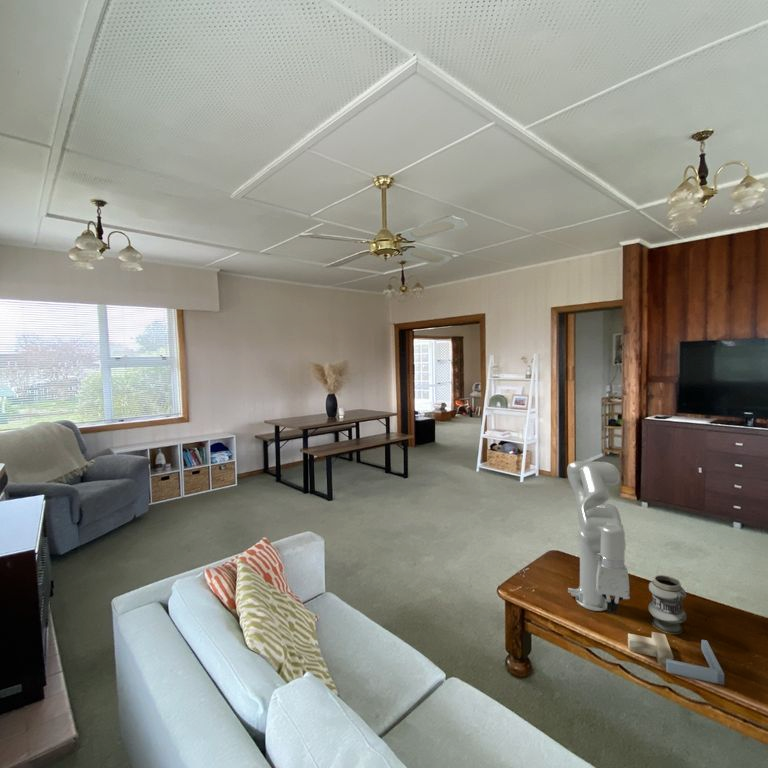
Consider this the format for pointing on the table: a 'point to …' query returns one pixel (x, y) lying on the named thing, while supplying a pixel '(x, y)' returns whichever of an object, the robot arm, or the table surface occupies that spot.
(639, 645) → the t block
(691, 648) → the table surface
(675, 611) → the apothecary jar
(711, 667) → the fence
